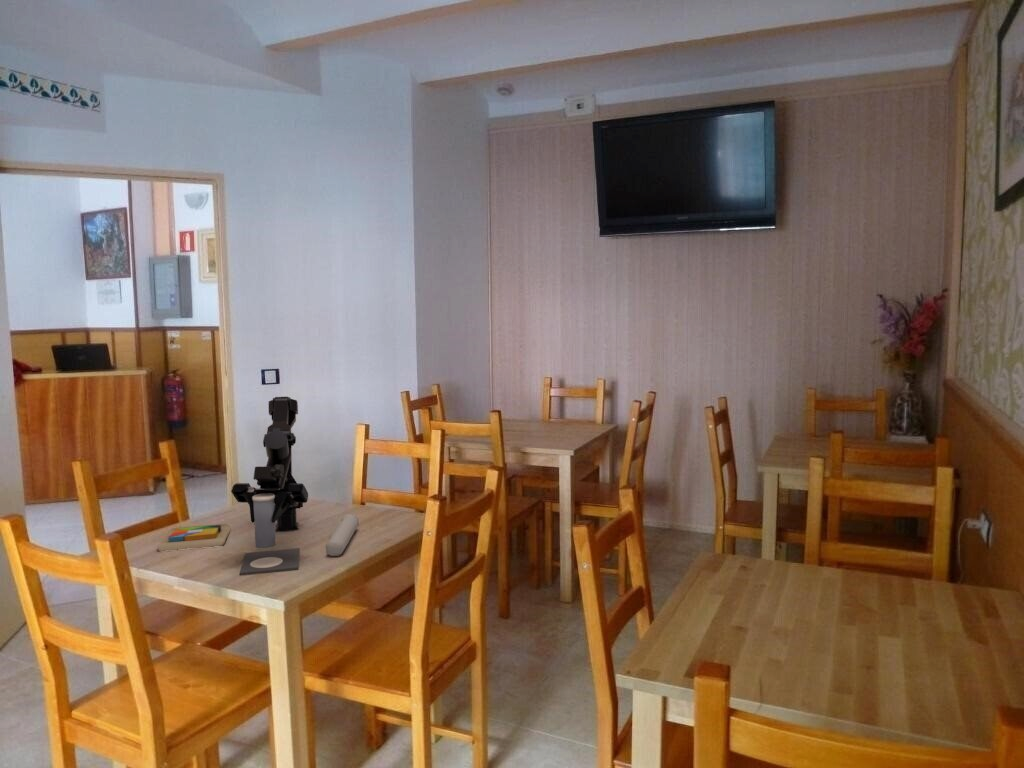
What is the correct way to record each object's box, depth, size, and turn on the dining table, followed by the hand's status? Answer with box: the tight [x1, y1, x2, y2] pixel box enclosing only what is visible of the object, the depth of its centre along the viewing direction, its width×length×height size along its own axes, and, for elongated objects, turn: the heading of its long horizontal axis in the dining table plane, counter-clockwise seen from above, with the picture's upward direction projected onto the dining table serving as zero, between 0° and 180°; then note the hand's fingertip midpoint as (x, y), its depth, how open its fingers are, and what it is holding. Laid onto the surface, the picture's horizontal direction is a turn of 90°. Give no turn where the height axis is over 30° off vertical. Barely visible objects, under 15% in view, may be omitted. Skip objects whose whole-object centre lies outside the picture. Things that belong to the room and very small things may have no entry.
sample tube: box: [252, 493, 277, 550], centre depth 191 cm, size 5×5×13 cm
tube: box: [325, 513, 360, 557], centre depth 209 cm, size 5×5×25 cm
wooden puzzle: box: [157, 522, 232, 552], centre depth 214 cm, size 18×19×4 cm
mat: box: [239, 547, 300, 576], centre depth 194 cm, size 16×14×1 cm
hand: (262, 521), depth 189 cm, fingers closed on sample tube, 5 cm apart
